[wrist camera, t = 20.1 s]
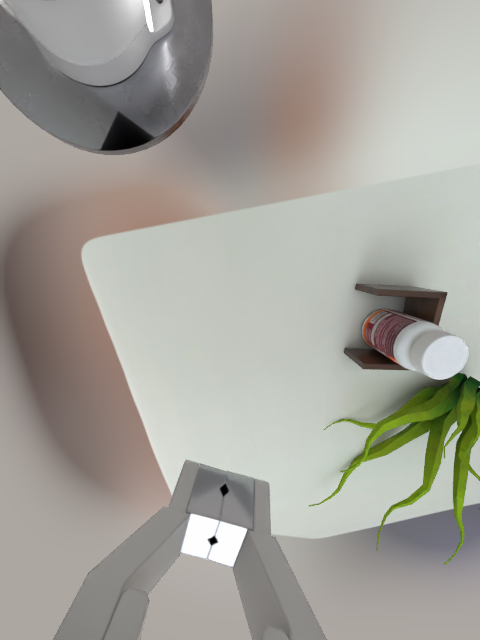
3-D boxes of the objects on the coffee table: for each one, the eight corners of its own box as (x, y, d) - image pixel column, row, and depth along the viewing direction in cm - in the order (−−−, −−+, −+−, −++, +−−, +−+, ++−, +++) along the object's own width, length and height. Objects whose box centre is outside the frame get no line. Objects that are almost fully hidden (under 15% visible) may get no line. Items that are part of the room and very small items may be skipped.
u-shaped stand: (355, 283, 35) (379, 288, 29) (414, 286, 35) (447, 292, 30) (343, 353, 38) (363, 369, 32) (398, 354, 38) (426, 370, 33)
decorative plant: (281, 415, 40) (310, 504, 26) (459, 363, 39) (592, 425, 25) (305, 496, 45) (341, 608, 30) (465, 450, 44) (579, 545, 30)
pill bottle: (357, 347, 37) (412, 385, 26) (362, 308, 36) (422, 331, 25) (396, 346, 38) (466, 383, 27) (403, 307, 36) (480, 330, 25)
